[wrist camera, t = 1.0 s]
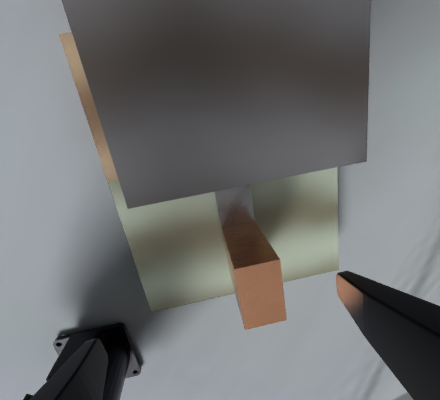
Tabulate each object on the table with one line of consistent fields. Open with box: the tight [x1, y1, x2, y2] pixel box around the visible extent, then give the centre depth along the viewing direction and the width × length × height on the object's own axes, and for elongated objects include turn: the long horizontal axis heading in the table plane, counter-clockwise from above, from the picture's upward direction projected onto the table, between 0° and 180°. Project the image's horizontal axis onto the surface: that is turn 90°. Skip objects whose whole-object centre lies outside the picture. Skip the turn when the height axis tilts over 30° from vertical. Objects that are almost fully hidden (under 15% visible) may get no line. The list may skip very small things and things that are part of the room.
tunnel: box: [59, 0, 371, 312], centre depth 14 cm, size 25×16×10 cm, turn 10°
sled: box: [214, 185, 286, 330], centre depth 14 cm, size 16×6×6 cm, turn 10°
